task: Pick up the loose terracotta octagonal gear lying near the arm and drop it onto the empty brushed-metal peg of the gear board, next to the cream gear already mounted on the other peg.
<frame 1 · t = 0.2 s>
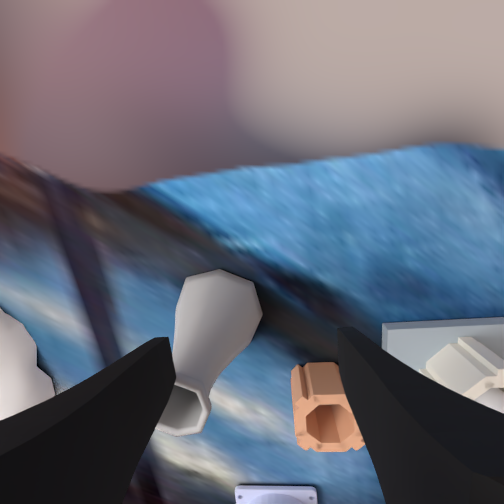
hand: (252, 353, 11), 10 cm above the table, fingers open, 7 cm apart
gear board: (455, 404, 22), on the table
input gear: (321, 388, 22), on the table
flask: (220, 308, 21), on the table
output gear: (461, 372, 20), point 1 cm above the table, touching gear board
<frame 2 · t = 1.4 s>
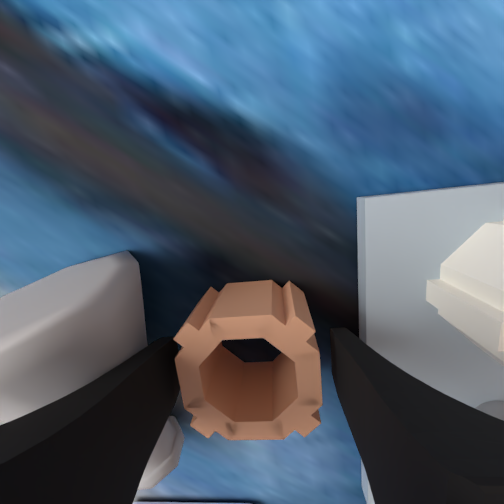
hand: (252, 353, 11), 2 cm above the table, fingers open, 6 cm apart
gear board: (491, 356, 12), on the table
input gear: (254, 331, 13), on the table
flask: (33, 288, 9), point 3 cm above the table, touching gripper
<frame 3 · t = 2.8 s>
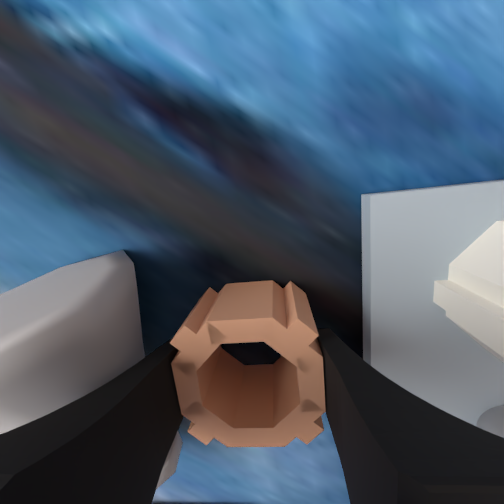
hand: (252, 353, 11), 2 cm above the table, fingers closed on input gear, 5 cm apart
gear board: (500, 359, 12), on the table
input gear: (255, 332, 12), on the table, touching gripper
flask: (22, 290, 9), point 3 cm above the table
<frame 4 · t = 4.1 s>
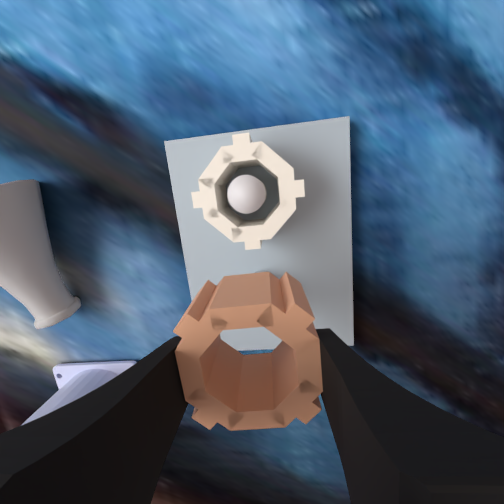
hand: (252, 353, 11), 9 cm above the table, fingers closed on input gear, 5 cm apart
gear board: (265, 246, 19), on the table
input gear: (253, 323, 13), point 7 cm above the table, touching gripper
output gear: (252, 193, 17), point 1 cm above the table, touching gear board
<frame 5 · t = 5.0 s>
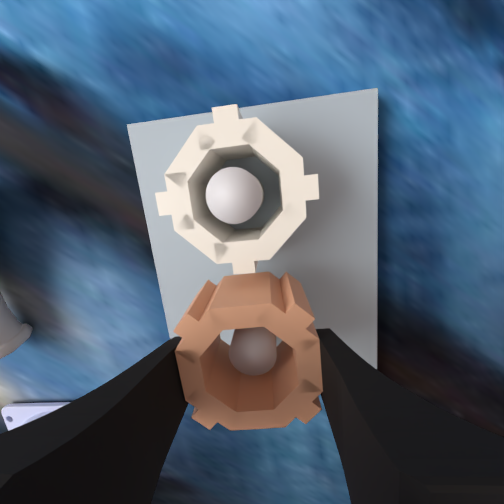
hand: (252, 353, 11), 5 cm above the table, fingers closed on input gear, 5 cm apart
gear board: (263, 263, 15), on the table
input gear: (253, 323, 13), point 3 cm above the table, touching gripper
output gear: (245, 194, 13), point 1 cm above the table, touching gear board
when the fingers open (5 cm above the table, at t = 5.8 s): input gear drops 2 cm, resting on gear board.
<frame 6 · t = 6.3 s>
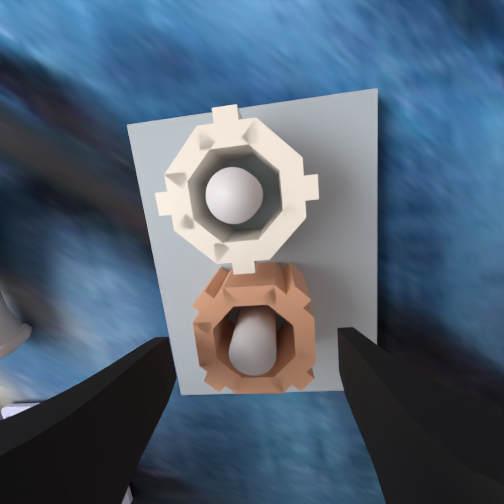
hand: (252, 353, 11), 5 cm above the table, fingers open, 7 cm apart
gear board: (263, 263, 15), on the table
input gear: (258, 307, 14), point 1 cm above the table, touching gear board
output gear: (244, 194, 13), point 1 cm above the table, touching gear board
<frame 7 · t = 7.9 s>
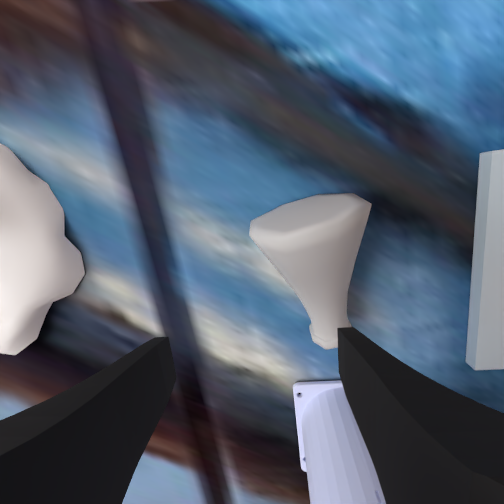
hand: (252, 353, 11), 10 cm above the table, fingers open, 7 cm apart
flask: (301, 206, 15), point 3 cm above the table
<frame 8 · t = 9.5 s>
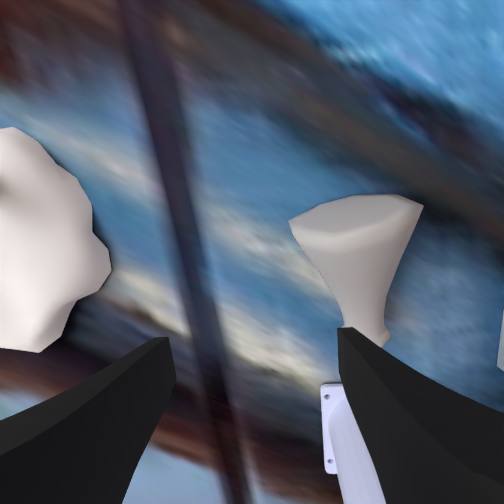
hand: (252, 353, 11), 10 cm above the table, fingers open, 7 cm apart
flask: (345, 206, 15), point 3 cm above the table
figurine: (4, 247, 22), on the table
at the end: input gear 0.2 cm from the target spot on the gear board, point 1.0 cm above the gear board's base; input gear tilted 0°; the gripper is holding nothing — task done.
